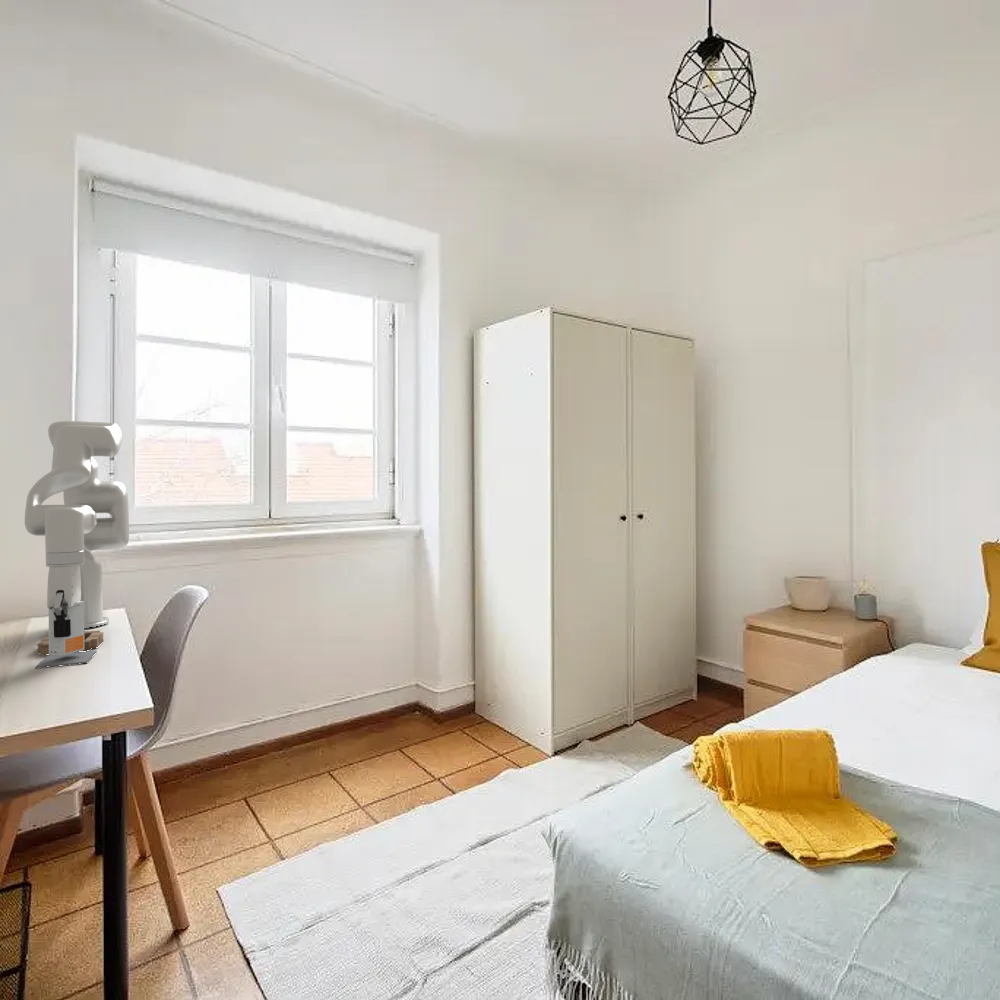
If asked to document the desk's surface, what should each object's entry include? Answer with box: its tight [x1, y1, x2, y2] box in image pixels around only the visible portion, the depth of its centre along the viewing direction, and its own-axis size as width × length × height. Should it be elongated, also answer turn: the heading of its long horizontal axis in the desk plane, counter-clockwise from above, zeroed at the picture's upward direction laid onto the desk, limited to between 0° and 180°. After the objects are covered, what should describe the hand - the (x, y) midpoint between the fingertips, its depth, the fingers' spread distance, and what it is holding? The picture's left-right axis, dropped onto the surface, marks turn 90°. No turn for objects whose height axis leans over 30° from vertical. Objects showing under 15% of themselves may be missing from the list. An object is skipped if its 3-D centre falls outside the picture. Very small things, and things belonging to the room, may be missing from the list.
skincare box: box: [48, 601, 85, 656], centre depth 147 cm, size 6×4×12 cm
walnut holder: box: [37, 630, 104, 656], centre depth 159 cm, size 12×12×2 cm
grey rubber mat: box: [35, 650, 98, 669], centre depth 147 cm, size 10×10×1 cm
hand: (67, 632), depth 147 cm, fingers closed on skincare box, 7 cm apart
